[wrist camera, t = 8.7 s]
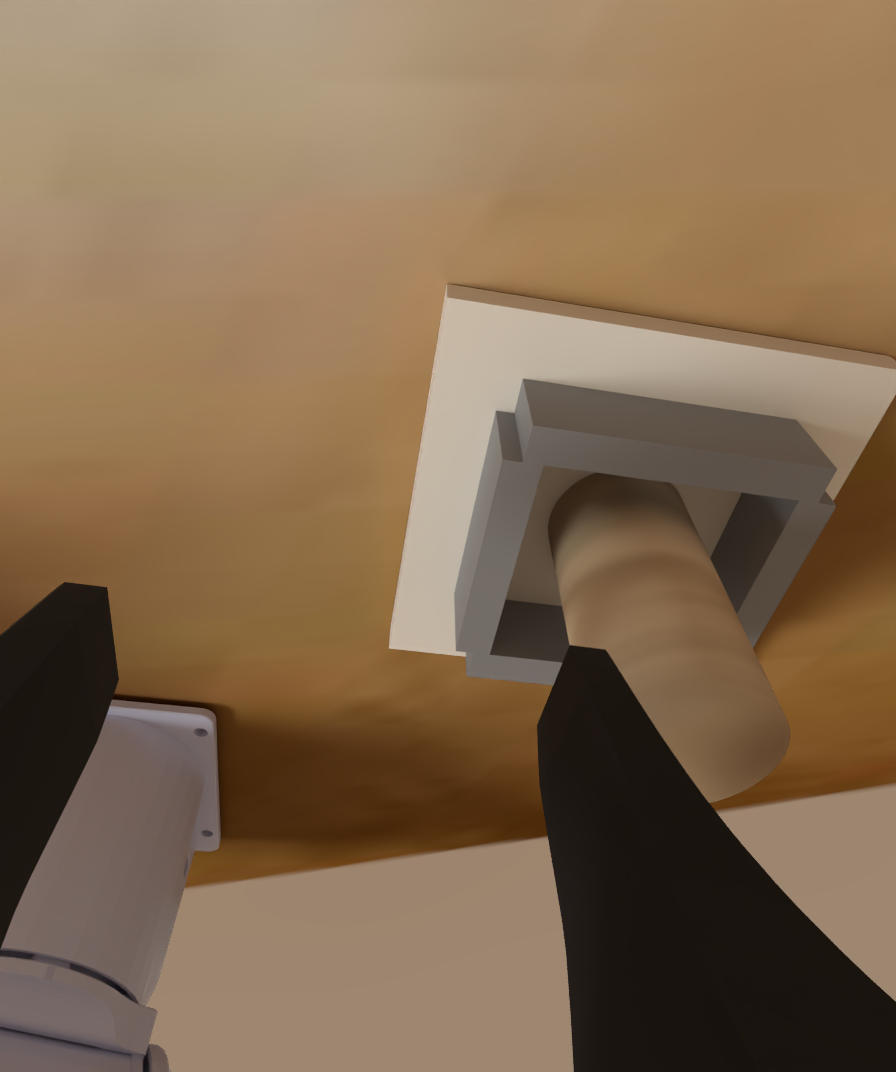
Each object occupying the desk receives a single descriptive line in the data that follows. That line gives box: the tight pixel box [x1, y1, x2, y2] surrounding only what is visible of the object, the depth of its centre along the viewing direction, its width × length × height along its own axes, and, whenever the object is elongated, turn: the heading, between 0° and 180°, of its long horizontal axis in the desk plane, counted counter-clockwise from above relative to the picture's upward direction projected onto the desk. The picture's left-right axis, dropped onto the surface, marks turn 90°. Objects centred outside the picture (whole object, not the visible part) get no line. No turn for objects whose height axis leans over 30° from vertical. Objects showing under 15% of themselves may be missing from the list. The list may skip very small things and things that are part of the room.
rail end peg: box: [548, 473, 790, 803], centre depth 18 cm, size 4×4×8 cm
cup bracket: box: [389, 284, 896, 685], centre depth 21 cm, size 12×12×4 cm
